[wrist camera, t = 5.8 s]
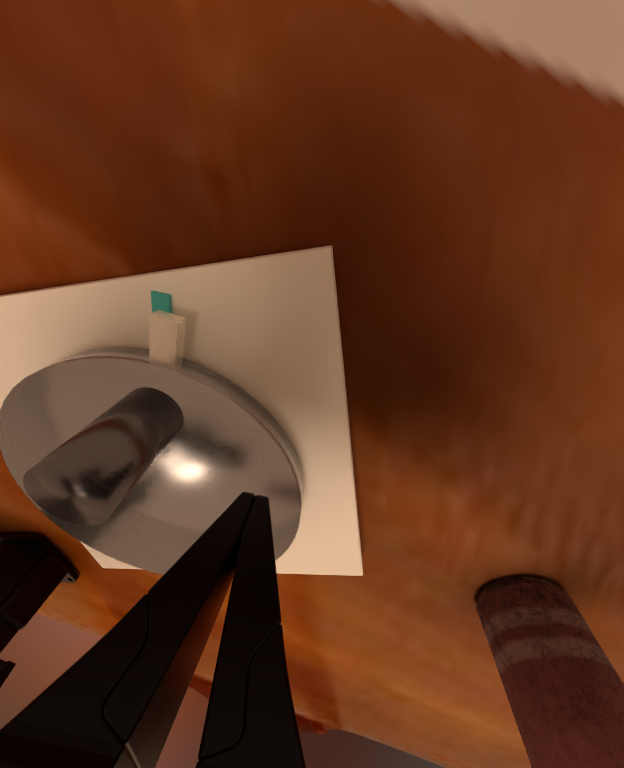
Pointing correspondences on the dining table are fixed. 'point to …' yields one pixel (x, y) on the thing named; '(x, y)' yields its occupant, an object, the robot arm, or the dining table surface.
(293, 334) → the board
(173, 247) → the dining table surface
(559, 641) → the can
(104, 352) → the dial
